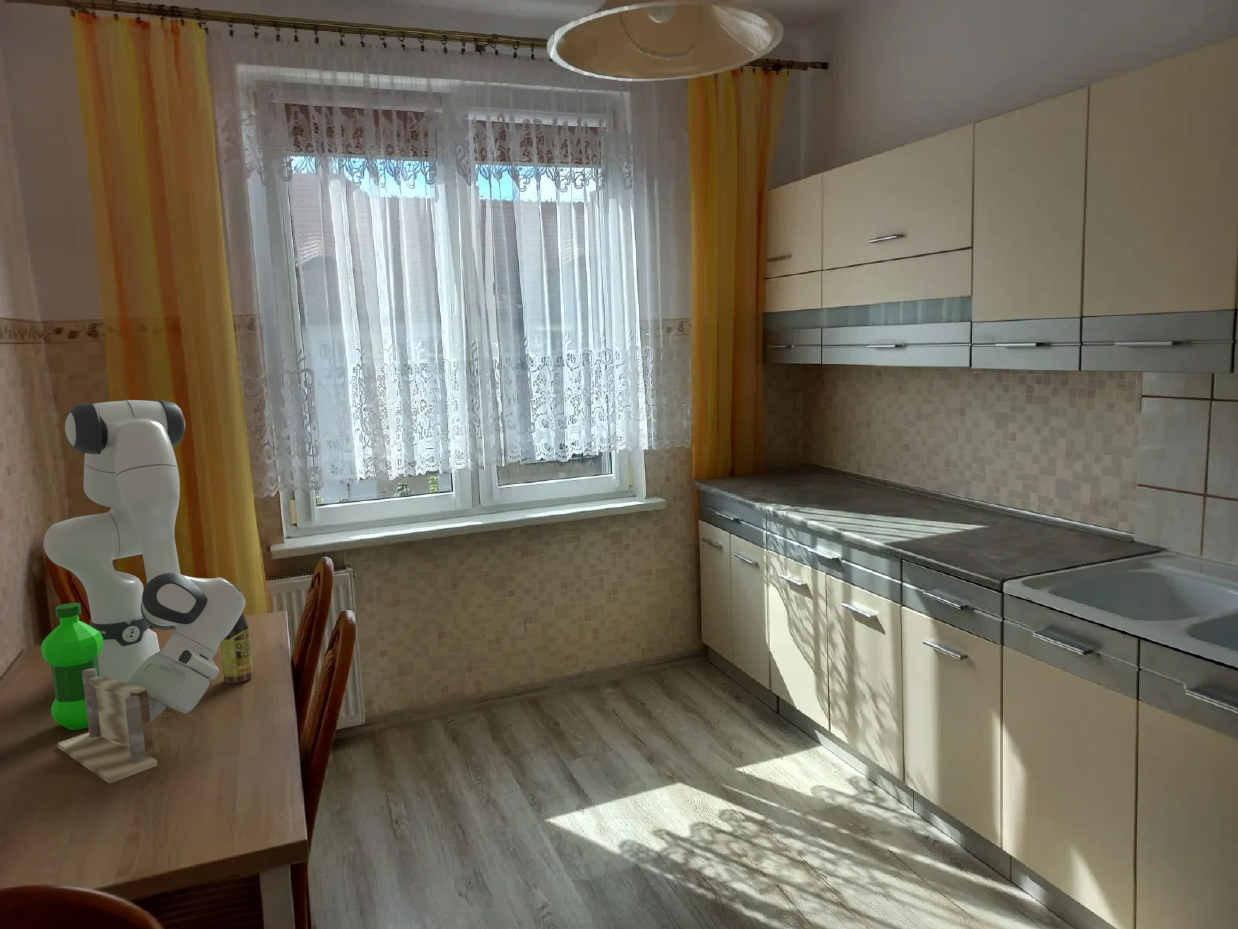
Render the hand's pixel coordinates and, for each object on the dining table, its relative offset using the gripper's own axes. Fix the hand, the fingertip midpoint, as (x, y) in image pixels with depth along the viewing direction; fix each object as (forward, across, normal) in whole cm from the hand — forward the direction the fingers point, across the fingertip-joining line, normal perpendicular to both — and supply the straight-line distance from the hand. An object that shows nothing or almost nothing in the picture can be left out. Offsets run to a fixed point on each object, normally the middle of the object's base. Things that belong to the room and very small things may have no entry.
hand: (139, 723), depth 158 cm
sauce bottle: (-16, -18, +25) cm, 35 cm away
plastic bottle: (+5, -23, +2) cm, 24 cm away
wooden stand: (+7, -3, 0) cm, 8 cm away
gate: (+4, -3, +1) cm, 5 cm away
